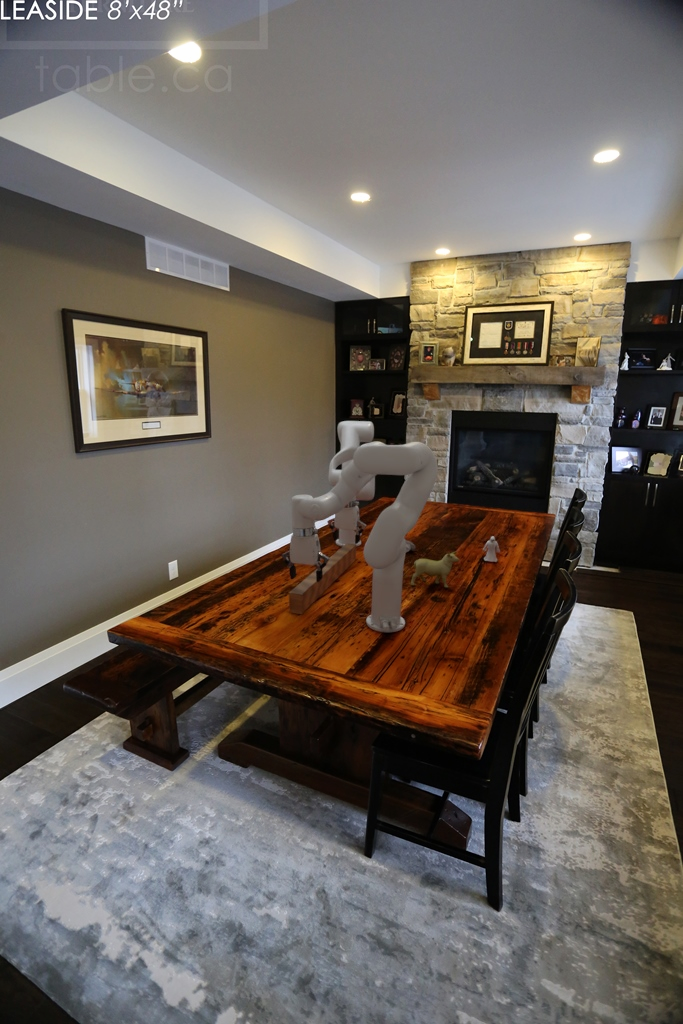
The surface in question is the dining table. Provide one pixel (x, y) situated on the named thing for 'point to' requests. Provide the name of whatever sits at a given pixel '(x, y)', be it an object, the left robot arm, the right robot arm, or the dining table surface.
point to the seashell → (409, 546)
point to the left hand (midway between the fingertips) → (346, 541)
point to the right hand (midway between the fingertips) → (306, 579)
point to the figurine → (491, 550)
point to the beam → (311, 588)
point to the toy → (434, 568)
